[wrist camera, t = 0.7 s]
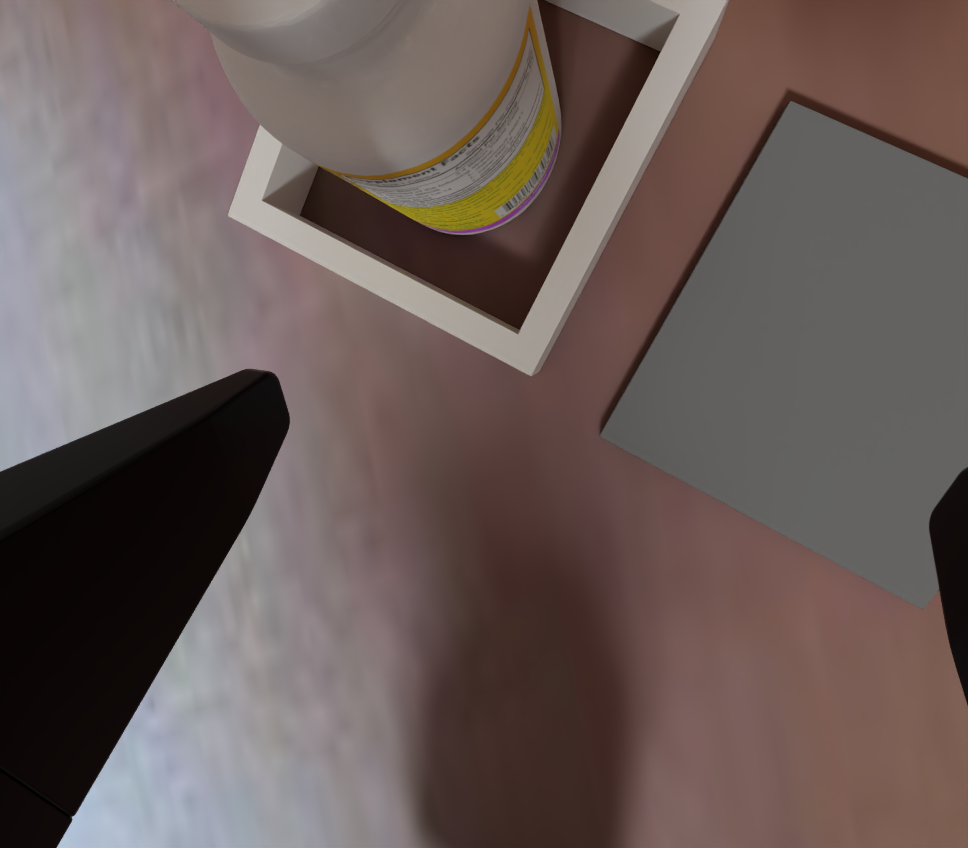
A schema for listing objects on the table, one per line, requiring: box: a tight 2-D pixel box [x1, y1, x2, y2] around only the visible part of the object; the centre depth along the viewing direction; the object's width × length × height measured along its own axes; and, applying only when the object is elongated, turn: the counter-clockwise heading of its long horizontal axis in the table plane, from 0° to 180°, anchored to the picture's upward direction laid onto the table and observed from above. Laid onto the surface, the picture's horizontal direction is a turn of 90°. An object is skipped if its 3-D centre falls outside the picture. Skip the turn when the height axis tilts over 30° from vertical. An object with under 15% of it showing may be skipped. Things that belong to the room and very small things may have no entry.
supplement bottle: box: [172, 0, 561, 235], centre depth 14 cm, size 7×7×13 cm
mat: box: [599, 101, 968, 610], centre depth 18 cm, size 12×12×1 cm
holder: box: [228, 0, 729, 376], centre depth 19 cm, size 12×12×2 cm
